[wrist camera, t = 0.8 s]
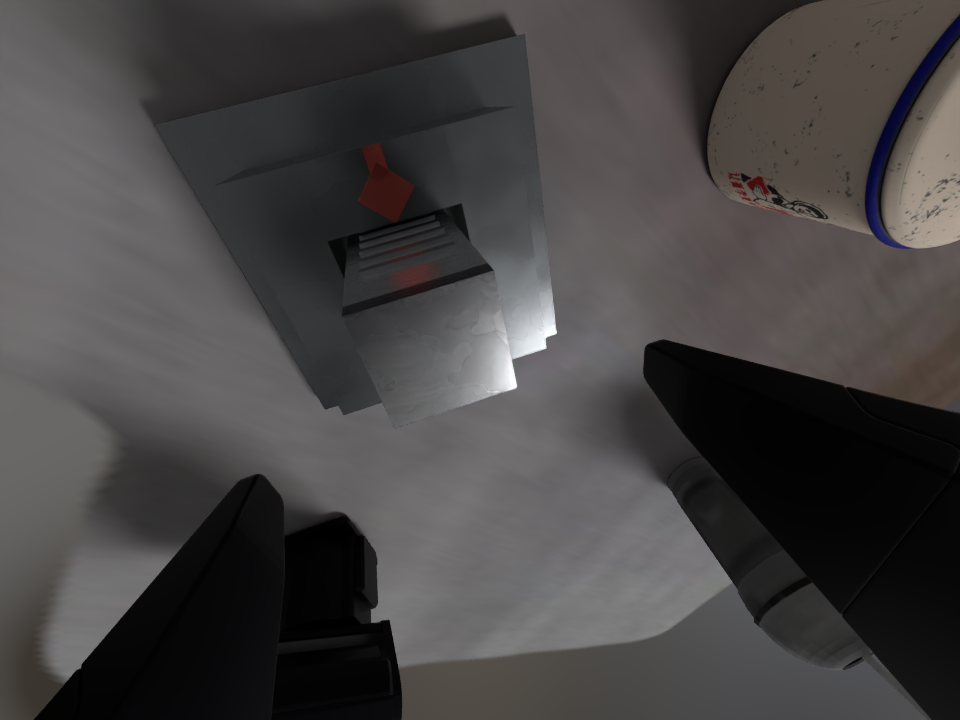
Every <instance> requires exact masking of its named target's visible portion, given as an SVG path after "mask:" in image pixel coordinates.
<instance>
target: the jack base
mask: <svg viewBox="0 0 960 720" xmlns="http://www.w3.org/2000/svg"><path fill="white" fill-rule="evenodd" d="M155 127H156V129H157V130H158V132H159V134H160V135H161V137H162V139H163V140H164V142H165V144H166V145H167V147H168V149H169V150H170V152H171V154H172V155H173V157H174V159H175V160H176V162H177V164H178V165H179V167H180V169H181V170H182V172H183V174H184V175H185V177H186V179H187V180H188V182H189V184H190V185H191V187H192V189H193V190H194V192H195V194H196V195H197V197H198V199H199V200H200V202H201V204H202V205H203V207H204V209H205V210H206V212H207V214H208V215H209V217H210V219H211V220H212V222H213V224H214V225H215V227H216V229H217V230H218V232H219V234H220V235H221V237H222V239H223V240H224V242H225V244H226V245H227V247H228V249H229V250H230V252H231V254H232V255H233V257H234V259H235V260H236V262H237V264H238V265H239V267H240V269H241V270H242V272H243V274H244V275H245V277H246V279H247V280H248V282H249V284H250V285H251V287H252V289H253V290H254V292H255V294H256V295H257V297H258V299H259V300H260V302H261V304H262V305H263V307H264V309H265V310H266V312H267V314H268V315H269V317H270V319H271V320H272V322H273V324H274V325H275V327H276V329H277V330H278V332H279V334H280V335H281V337H282V339H283V340H284V342H285V344H286V345H287V347H288V349H289V350H290V352H291V354H292V355H293V357H294V359H295V360H296V362H297V364H298V365H299V367H300V369H301V370H302V372H303V374H304V375H305V377H306V379H307V380H308V382H309V383H310V385H311V387H312V388H313V390H314V392H315V393H316V395H317V397H318V398H319V400H320V402H321V403H322V405H323V407H324V408H325V410H326V409H329V408H332V407H335V406H339V408H340V409H341V411H342V413H343V415H346V414H349V413H352V412H355V411H358V410H361V409H364V408H367V407H370V406H373V405H376V404H379V403H382V401H381V399H380V397H379V395H378V393H377V390H376V388H375V386H374V384H373V382H372V380H371V378H370V376H369V374H368V372H367V369H366V367H365V365H364V363H363V361H362V359H361V357H360V355H359V353H358V351H357V348H356V346H355V344H354V342H353V340H352V338H351V336H350V334H349V332H348V329H347V327H346V325H345V323H344V321H343V319H342V307H343V294H344V281H345V268H346V256H347V243H348V236H349V235H352V234H356V233H359V232H363V231H366V230H370V229H373V228H377V227H380V226H384V225H387V224H391V223H394V222H395V223H396V222H398V221H401V220H405V219H408V218H412V217H415V216H419V215H422V214H426V213H429V212H433V211H436V210H440V209H443V210H444V212H445V213H446V214H447V215H448V216H449V218H450V219H451V220H452V221H453V222H454V223H455V225H456V226H457V227H458V228H459V229H460V231H461V232H462V233H463V234H464V235H465V237H466V238H467V239H468V240H469V241H470V242H471V244H472V245H473V246H474V247H475V248H476V250H477V251H478V252H479V253H480V254H481V256H482V257H483V258H484V259H485V260H486V261H487V263H488V264H489V265H490V266H491V267H492V269H493V270H494V272H495V277H496V282H497V288H498V293H499V298H500V303H501V308H502V313H503V318H504V324H505V329H506V334H507V339H508V344H509V349H510V354H511V359H515V358H518V357H521V356H524V355H527V354H530V353H533V352H536V351H539V350H542V349H545V348H546V342H545V337H548V336H551V335H554V334H556V325H555V315H554V306H553V296H552V287H551V277H550V268H549V258H548V249H547V240H546V230H545V221H544V211H543V202H542V192H541V183H540V173H539V164H538V154H537V145H536V135H535V126H534V116H533V107H532V97H531V88H530V78H529V69H528V59H527V50H526V40H525V34H522V35H518V36H514V37H510V38H506V39H502V40H498V41H494V42H490V43H485V44H481V45H477V46H473V47H469V48H465V49H461V50H457V51H453V52H449V53H445V54H441V55H437V56H433V57H428V58H424V59H420V60H416V61H412V62H408V63H404V64H400V65H396V66H392V67H388V68H384V69H380V70H375V71H371V72H367V73H363V74H359V75H355V76H351V77H347V78H343V79H339V80H335V81H331V82H327V83H323V84H318V85H314V86H310V87H306V88H302V89H298V90H294V91H290V92H286V93H282V94H278V95H274V96H270V97H265V98H261V99H257V100H253V101H249V102H245V103H241V104H237V105H233V106H229V107H225V108H221V109H217V110H213V111H208V112H204V113H200V114H196V115H192V116H188V117H184V118H180V119H176V120H172V121H168V122H164V123H160V124H155Z"/></svg>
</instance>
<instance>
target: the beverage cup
mask: <svg viewBox="0 0 960 720" xmlns="http://www.w3.org/2000/svg"><path fill="white" fill-rule="evenodd" d="M667 484H668V488H669V489H670V490H671V491H672V492H673V495H674V496H675V498H676V499H677V502H678V503H679V505H680V506H681V508H682V509H683V511H684V512H685V514H686V515H687V516H688V518H689V519H690V521H691V522H692V524H693V525H694V527H695V528H696V530H697V531H698V532H699V534H700V535H701V537H702V538H703V540H704V541H705V543H706V544H707V546H708V547H709V548H710V550H711V551H712V553H713V554H714V556H715V557H716V559H717V560H718V561H719V563H720V564H721V566H722V567H723V569H724V570H725V572H726V573H727V575H728V576H729V577H730V579H731V580H732V582H733V583H734V585H735V586H736V588H737V589H738V593H739V595H740V597H741V599H742V600H743V602H744V604H745V606H746V607H747V609H748V611H749V612H750V613H751V615H752V616H753V617H754V623H756V624H757V625H758V626H759V627H760V628H762V629H763V630H764V631H765V633H766V634H767V635H768V636H769V637H770V638H771V639H772V640H773V641H774V642H775V643H777V644H778V645H779V646H780V647H782V648H783V649H784V650H786V651H787V652H789V653H790V654H792V655H793V656H795V657H797V658H799V659H801V660H803V661H805V662H807V663H809V664H812V665H815V666H818V667H821V668H826V669H831V670H846V669H848V668H851V667H853V666H855V665H857V664H859V663H861V662H862V661H864V660H865V661H866V662H867V663H868V664H869V665H870V666H871V667H872V668H873V669H874V670H875V671H877V672H878V673H879V674H880V675H881V676H882V677H883V678H884V679H885V680H886V681H887V682H888V683H889V684H890V685H891V686H892V687H894V688H895V689H896V690H897V691H898V692H899V693H900V694H901V695H902V696H903V697H904V698H905V699H906V700H907V701H908V702H909V703H910V704H911V705H912V706H913V707H915V708H916V709H917V710H918V711H919V712H920V713H921V714H922V715H923V716H924V717H925V718H926V719H927V720H931V719H930V718H929V717H928V715H927V714H926V713H925V712H924V711H923V710H922V709H921V707H920V706H919V705H918V704H917V703H916V702H915V700H914V699H913V698H912V697H911V696H910V695H909V694H908V692H907V691H906V690H905V689H904V688H903V687H902V686H901V684H900V683H899V682H898V681H897V680H896V679H895V677H894V676H893V675H892V674H890V673H889V672H888V671H887V670H886V669H885V668H884V667H883V666H882V665H881V664H880V663H879V662H878V661H876V660H875V659H874V658H873V657H872V656H871V655H873V652H872V651H871V650H870V649H869V648H868V646H867V645H866V644H865V643H864V642H863V641H862V640H861V638H860V637H859V636H858V635H857V634H856V633H855V631H854V630H853V629H852V628H851V627H850V626H849V625H848V623H847V622H846V621H845V620H844V619H843V618H842V614H840V613H838V611H837V610H836V609H835V608H834V607H833V606H832V605H831V603H830V602H829V601H828V600H827V599H826V598H825V596H824V595H823V594H822V593H821V592H820V591H819V590H818V588H817V587H816V586H815V585H814V584H813V583H812V581H811V580H810V579H809V578H808V577H807V576H806V575H805V573H804V572H803V571H802V570H801V569H800V568H799V567H798V565H797V564H796V563H795V562H794V561H793V560H792V558H791V557H790V556H789V555H788V554H787V553H786V552H785V550H784V549H783V548H782V547H781V546H780V545H779V543H778V542H777V541H776V540H775V539H774V538H773V537H772V535H771V534H770V533H769V532H768V531H767V530H766V529H765V527H764V526H763V525H762V524H761V523H760V522H759V520H758V519H757V518H756V517H755V516H754V515H753V514H752V512H751V511H750V510H749V509H748V508H747V507H746V505H745V504H744V503H743V502H742V501H741V500H740V499H739V497H738V496H737V495H736V494H735V493H734V492H733V491H732V489H731V488H730V487H729V486H728V485H727V484H726V482H725V481H724V480H723V479H722V478H721V477H720V476H719V474H718V473H717V472H716V471H715V470H714V469H713V467H712V466H711V465H710V464H709V463H708V462H707V461H706V459H705V458H703V457H699V458H694V459H691V460H688V461H687V462H685V463H683V464H681V465H680V466H679V467H678V468H676V469H675V470H674V472H673V473H672V474H671V475H670V477H669V479H668V483H667Z"/></svg>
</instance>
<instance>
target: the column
mask: <svg viewBox="0 0 960 720" xmlns="http://www.w3.org/2000/svg"><path fill="white" fill-rule="evenodd" d="M342 319H343V321H344V323H345V325H346V327H347V329H348V332H349V334H350V336H351V338H352V340H353V342H354V344H355V346H356V348H357V351H358V353H359V355H360V357H361V359H362V361H363V363H364V365H365V367H366V369H367V372H368V374H369V376H370V378H371V380H372V382H373V384H374V386H375V388H376V390H377V393H378V395H379V397H380V399H381V401H382V403H383V405H384V407H385V409H386V411H387V414H388V416H389V418H390V420H391V422H392V424H393V426H394V428H395V429H396V428H399V427H402V426H405V425H408V424H411V423H414V422H416V421H419V420H422V419H425V418H428V417H431V416H434V415H437V414H440V413H443V412H446V411H449V410H452V409H455V408H458V407H461V406H464V405H467V404H470V403H473V402H476V401H478V400H481V399H484V398H487V397H490V396H493V395H496V394H499V393H502V392H505V391H508V390H511V389H514V388H517V385H516V380H515V375H514V370H513V365H512V359H511V354H510V349H509V344H508V339H507V334H506V329H505V324H504V318H503V313H502V308H501V303H500V298H499V293H498V288H497V282H496V277H495V272H494V270H493V269H492V267H491V266H490V265H489V264H488V263H487V261H486V260H485V259H484V258H483V257H482V256H481V254H480V253H479V252H478V251H477V250H476V248H475V247H474V246H473V245H472V244H471V242H470V241H469V240H468V239H467V238H466V237H465V235H464V234H463V233H462V232H461V231H460V229H459V228H458V227H457V226H456V225H455V223H454V222H453V221H452V220H451V219H450V218H449V216H448V215H447V214H446V213H445V212H444V210H443V209H440V210H436V211H433V212H429V213H426V214H422V215H419V216H415V217H412V218H408V219H405V220H401V221H398V222H396V223H395V222H394V223H391V224H387V225H384V226H380V227H377V228H373V229H370V230H366V231H363V232H359V233H356V234H352V235H349V236H348V243H347V256H346V268H345V281H344V294H343V307H342Z"/></svg>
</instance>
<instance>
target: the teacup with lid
mask: <svg viewBox="0 0 960 720" xmlns="http://www.w3.org/2000/svg"><path fill="white" fill-rule="evenodd" d="M707 155H708V164H709V168H710V172H711V175H712V178H713V180H714V182H715V184H716V185H717V187H718V188H719V189H720V190H721V192H722V193H723V194H725V195H726V196H727V197H729V198H730V199H732V200H734V201H737V202H740V203H744V204H748V205H752V206H756V207H760V208H764V209H769V210H773V211H777V212H781V213H785V214H789V215H793V216H797V217H801V218H805V219H809V220H813V221H818V222H822V223H826V224H830V225H834V226H838V227H842V228H846V229H850V230H854V231H858V232H862V233H867V234H871V235H874V236H875V237H876V238H877V239H878V240H880V241H881V242H883V243H884V244H886V245H889V246H891V247H895V248H901V249H911V248H929V247H936V246H940V245H945V244H949V243H952V242H954V241H957V240H960V0H823V1H819V2H814V3H810V4H807V5H804V6H801V7H799V8H796V9H794V10H792V11H790V12H788V13H786V14H785V15H783V16H782V17H780V18H778V19H777V20H776V21H775V22H773V23H772V24H771V25H769V26H768V27H767V28H766V29H765V30H764V31H763V32H761V33H760V34H759V35H758V36H757V37H756V39H755V40H754V41H753V42H752V43H751V44H750V45H749V46H748V48H747V49H746V50H745V51H744V53H743V54H742V55H741V57H740V58H739V59H738V61H737V62H736V64H735V66H734V67H733V69H732V70H731V72H730V74H729V76H728V77H727V79H726V81H725V83H724V85H723V87H722V89H721V91H720V94H719V96H718V99H717V101H716V104H715V107H714V110H713V114H712V117H711V121H710V126H709V132H708V142H707Z"/></svg>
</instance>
